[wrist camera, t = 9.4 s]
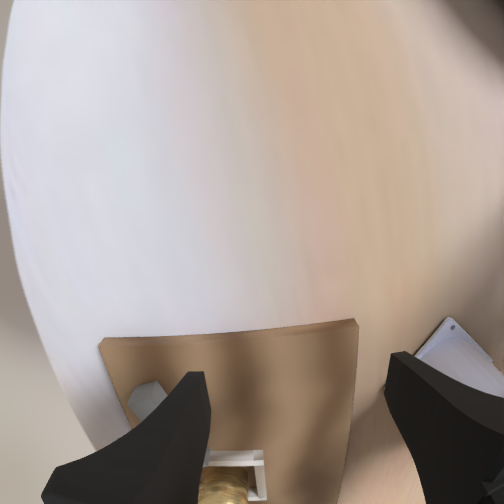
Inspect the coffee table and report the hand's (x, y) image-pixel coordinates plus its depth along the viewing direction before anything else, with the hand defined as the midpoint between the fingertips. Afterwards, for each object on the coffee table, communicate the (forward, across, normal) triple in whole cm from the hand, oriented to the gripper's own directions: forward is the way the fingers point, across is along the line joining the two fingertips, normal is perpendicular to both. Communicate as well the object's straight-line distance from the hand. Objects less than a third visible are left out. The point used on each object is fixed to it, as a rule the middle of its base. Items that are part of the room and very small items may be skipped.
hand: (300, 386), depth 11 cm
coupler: (+8, +6, +18) cm, 20 cm away
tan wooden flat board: (+9, +4, +17) cm, 19 cm away
